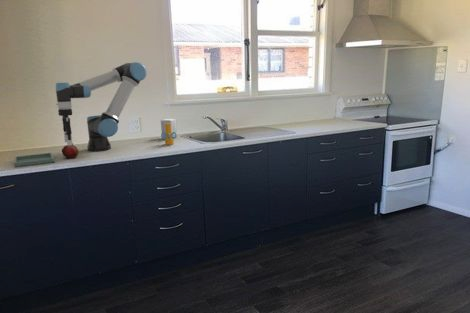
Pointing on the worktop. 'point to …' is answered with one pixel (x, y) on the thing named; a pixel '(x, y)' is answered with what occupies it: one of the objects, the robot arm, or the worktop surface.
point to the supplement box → (173, 126)
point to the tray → (33, 160)
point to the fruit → (70, 151)
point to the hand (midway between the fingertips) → (68, 143)
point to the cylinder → (168, 135)
